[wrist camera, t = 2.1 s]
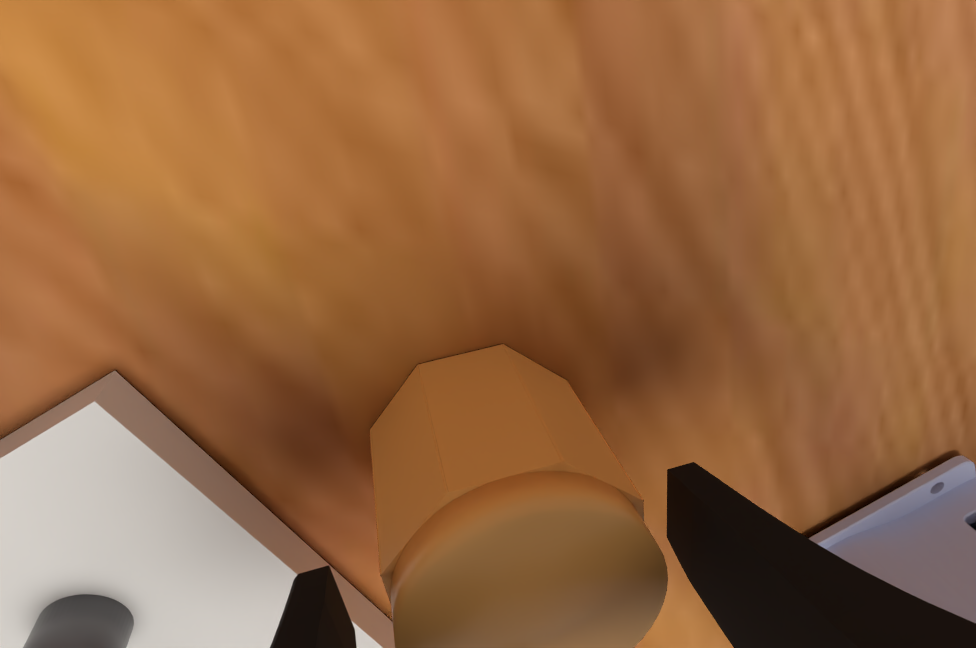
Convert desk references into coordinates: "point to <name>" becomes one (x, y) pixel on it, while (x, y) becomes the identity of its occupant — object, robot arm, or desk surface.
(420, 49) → the desk surface
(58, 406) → the plate
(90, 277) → the desk surface
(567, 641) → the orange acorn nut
